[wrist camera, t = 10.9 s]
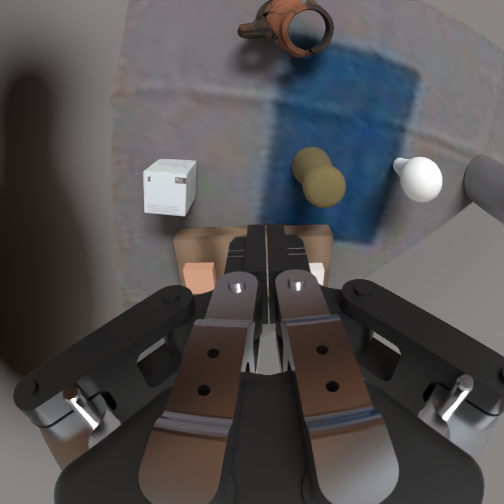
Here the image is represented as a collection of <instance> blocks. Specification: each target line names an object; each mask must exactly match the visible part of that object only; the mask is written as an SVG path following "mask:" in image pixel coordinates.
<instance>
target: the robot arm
mask: <svg viewBox="0 0 504 504" xmlns="http://www.w3.org/2000/svg"><path fill="white" fill-rule="evenodd" d="M464 188H465V192H466V194H467V196H468V198H469V199H470V200H471V201H473V202H474V203H476V204H477V205H478V206H480V207H481V208H482V209H483V210H485V211H486V212H487V213H489V214H490V215H491V216H493V217H494V218H495V219H496V220H498V221H499V222H500V223H501V224H503V225H504V164H502V163H500V162H498V161H496V160H494V159H492V158H490V157H487V156H479V157H476V158H475V159H474V160H473V161H472V162H471V163H470V165H469V166H468V168H467V171H466V174H465V179H464ZM266 226H267V252H268V280H269V309H270V324H273V323H275V324H276V345H277V351H278V358H279V365H280V372H281V373H278V374H273V375H262V374H258V366H259V356H260V348H261V334H262V330H263V324H268V299H267V264H266V239H265V224H262V225H248V228H247V236H246V237H235V238H234V239H233V240H232V241H231V242H230V244H229V249H228V255H227V260H226V266H225V271H224V275H223V276H221V277H220V278H219V279H218V280H217V282H216V284H215V287H214V289H213V290H211V291H209V292H206V293H202V294H198V295H193V294H192V291H191V290H190V289H189V288H187V287H185V286H181V285H172V286H168V287H165V288H162V289H160V290H159V291H157V292H155V293H154V294H152V295H151V296H149V297H147V298H146V299H144V300H143V301H141V302H139V303H138V304H136V305H135V306H133V307H132V308H130V309H128V310H127V311H125V312H124V313H122V314H120V315H119V316H117V317H116V318H114V319H113V320H111V321H109V322H108V323H106V324H105V325H103V326H102V327H100V328H98V329H97V330H96V331H94V332H92V333H91V334H89V335H87V336H86V337H84V338H83V339H82V340H80V341H78V342H77V343H75V344H74V345H72V346H70V347H69V348H67V349H66V350H64V351H63V352H61V353H60V354H58V355H57V356H55V357H54V358H52V359H50V360H49V361H48V362H46V363H44V364H43V365H41V366H40V367H38V368H37V369H35V370H34V371H32V372H31V373H29V374H28V375H26V376H25V377H23V378H22V379H21V380H20V381H19V382H18V384H17V385H16V387H15V390H14V395H13V398H14V402H15V404H16V406H17V407H18V408H19V409H20V410H21V411H22V412H23V413H24V414H25V415H26V416H27V417H28V418H29V419H30V420H31V422H32V423H33V424H34V425H35V426H36V427H37V428H38V429H39V430H40V431H41V433H42V436H43V438H44V439H45V442H46V443H47V445H48V447H49V449H50V451H51V453H52V455H53V456H54V458H55V460H56V462H57V464H58V465H59V467H60V469H61V470H62V472H61V474H60V476H59V477H58V479H57V482H56V485H55V489H54V503H55V504H482V500H483V496H484V478H483V473H482V471H481V469H480V467H479V465H478V463H477V460H478V458H479V456H480V455H481V453H482V451H483V449H484V447H485V445H486V443H487V441H488V439H489V437H490V435H491V433H492V431H493V429H494V426H495V424H496V422H497V420H498V418H499V417H500V416H501V415H502V413H503V412H504V357H503V356H502V355H500V354H498V353H497V352H495V351H493V350H492V349H490V348H488V347H487V346H485V345H483V344H482V343H480V342H478V341H477V340H475V339H473V338H472V337H470V336H468V335H467V334H465V333H463V332H461V331H460V330H458V329H456V328H454V327H452V326H451V325H449V324H448V323H446V322H444V321H442V320H441V319H439V318H437V317H435V316H433V315H432V314H430V313H428V312H426V311H425V310H423V309H421V308H419V307H417V306H416V305H414V304H412V303H410V302H409V301H407V300H405V299H403V298H401V297H400V296H398V295H396V294H394V293H392V292H391V291H389V290H387V289H385V288H383V287H381V286H379V285H378V284H376V283H374V282H372V281H369V280H364V279H355V280H351V281H348V282H347V283H345V284H344V285H343V287H342V290H339V289H333V288H328V287H325V286H322V285H320V284H319V283H318V281H317V278H316V277H315V276H314V275H313V274H312V273H311V270H310V266H309V262H308V258H307V254H306V250H305V246H304V242H303V240H302V239H301V238H300V237H299V236H298V235H285V230H284V224H266ZM374 332H376V333H377V334H379V335H380V336H382V337H384V338H385V339H387V340H388V341H390V342H391V343H393V344H394V345H396V346H397V347H398V348H399V350H400V352H401V355H400V354H398V353H397V352H395V351H394V350H392V349H391V348H389V347H387V346H386V345H384V344H383V343H381V342H380V341H378V340H377V339H375V338H373V334H374ZM162 338H164V340H165V343H164V344H163V345H162V346H160V347H159V348H158V349H156V350H155V351H153V352H152V353H151V354H149V355H148V356H146V357H145V358H144V359H142V360H141V361H139V362H138V363H137V359H138V357H139V355H140V354H141V353H142V352H143V351H145V350H146V349H148V348H149V347H150V346H152V345H153V344H155V343H156V342H157V341H159V340H160V339H162ZM363 378H364V379H363Z"/></svg>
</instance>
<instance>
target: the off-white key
mask: <svg viewBox="0 0 504 504" xmlns="http://www.w3.org/2000/svg"><path fill="white" fill-rule="evenodd" d="M309 266H310V270H311V273H312V274H313V275H314V276H315V277H316V278H317V281H318V283H319V284H320V285H322V286H323V280H324V271H325V270H324V267H323V264H322V263H309Z"/></svg>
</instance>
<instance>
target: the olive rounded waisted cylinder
mask: <svg viewBox="0 0 504 504" xmlns="http://www.w3.org/2000/svg"><path fill="white" fill-rule="evenodd" d="M291 169H292V173H293V175H294V177H295V179H296V180H297V181H298V182H299V183H301V184H302V187H303V192H304V195H305V197H306V199H307V200H308V201H309V202H310V203H311V204H313V205H315V206H317V207H322V208H327V207H332V206H334V205H336V204H337V203H338V202H339V201H341V199H342V198H343V196H344V194H345V190H346V185H345V179H344V177H343V175H342V174H341V173H340V171H339V170H338V169H336V168H335V167H333V166H332V163H331V160H330V158H329V156H328V155H327V154H326V153H325V152H324V151H323V150H321V149H319V148H316V147H307V148H304V149H302V150H300V151H299V152H298V153H297V154H296V155H295V156H294V158H293V160H292V165H291Z"/></svg>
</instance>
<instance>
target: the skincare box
mask: <svg viewBox="0 0 504 504" xmlns="http://www.w3.org/2000/svg"><path fill="white" fill-rule="evenodd" d="M196 168H197V161H191V160H175V159H159V160H158V161H156V162H155V163H154V164H152V165H151V166H150V167H149V168H147V169H146V170H145V171H144V172H143V184H144V211H145V213H153V214H164V215H175V216H186V214H187V212H188V210H189V208H190V207H191V205H192V203H193V201H194V199H195V191H196Z"/></svg>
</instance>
